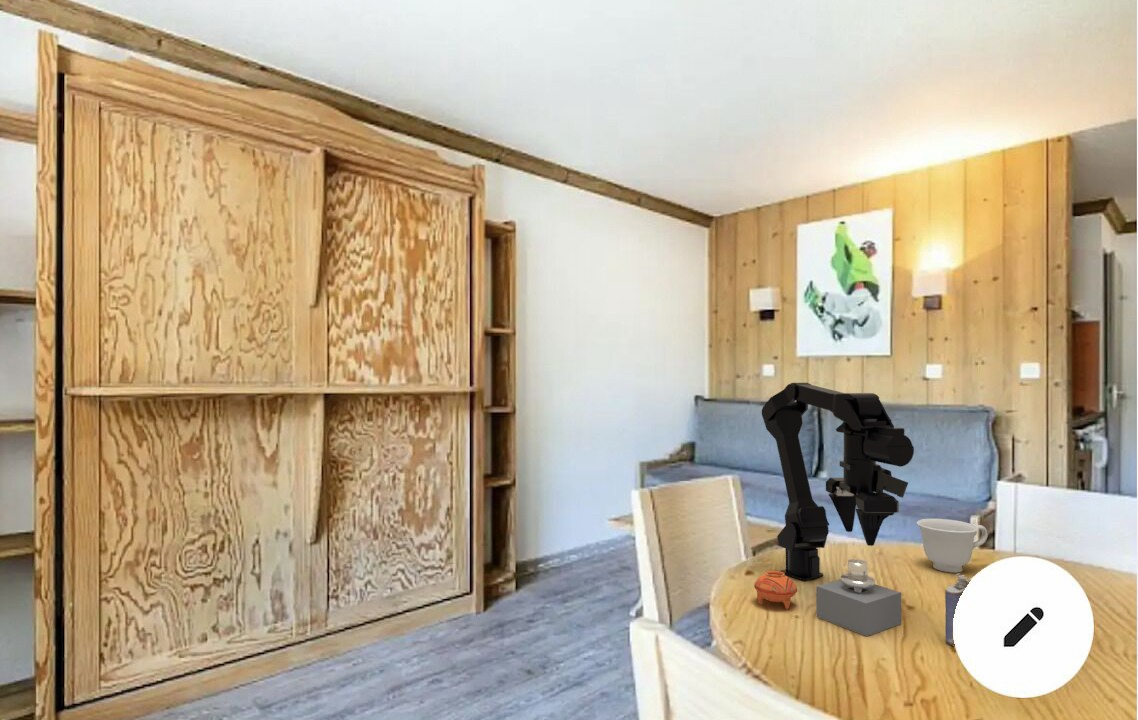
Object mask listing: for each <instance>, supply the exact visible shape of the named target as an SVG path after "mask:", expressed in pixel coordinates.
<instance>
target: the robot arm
mask: <svg viewBox="0 0 1138 720" xmlns="http://www.w3.org/2000/svg"><path fill="white" fill-rule="evenodd" d="M809 406H812V407H816V408H819V409H822V410H823V409H824V410H826V411H829V412H831V413H832V415H833V416H834V417H835V418H836V419H839V420H840V422H841V421H842V423H841V424H840V425H839V426H837V427H836V429H835V432H837V433H842V434H843V460H839V467H840V468H843V475H842V477H829V478H828V479H827V480H826V481H825V492H826V493H828V497H829V498H830V500H831V502H832V503H833V505H834V507H835V510H836V512H837V514H838V516H839V518H840V521H841V523H842V525H843V527H844V529H845V532H847V533H851V532H853V530H854V524H855V516H857V517H858V521H859V524H860V528H861V531H862V534H863V537H864V540H865V543H866V545H867V546H871V547H872V546H874V545H875V543H876V540H877V537H878V534H879V532H880V528H881V527H882V524H883V522H884V520H885V519H887V518H888V517H890V516H893V515H895V513H899V508H900V507H899V503H900V502H899V500H898V499H897V498H896V497H895V496H893V495H896V496H897V497H899V498H902V499H903V498H904V496H905V494H906V491H907V488H908V485H909V482H907V481H905V480H902V479H899V478H897V477H895V476H892V470H889V469H886V468H884V467H882V466H881V464H878V463H882V464H886V465H891V466H896V467H904V466H907V465H908V464H910V462H911V461H912V459H913V456H914V454H915V453H914V452H915V447H914V446H913V443H912V441H911V439H910V438H909V436H907V435H905V429H904V427H895V426H894V424H893V422H892V419H891V418H890V416H889V415H888V413H887V410H886V409H885V407H884V405H883V404H882V402H881V400H880V396H878V395H877V394H875V393H874V392H873V393H872V392H841V391H837V390H833V389H829V388H826V387H821V386H817V385H814V384H811V383H809V382H791V383H788V384H787V385H786V386H785V388H784V389H782V390H781V391H779V392H777V393H776V394H774V395H772V396H770V397H769V399H768V400H767V401H766V402H765V404H764V405H763V406H762V409H761V416H762V420H763V423H764V425H765V429H766V430H767V432H768V433H769V434H770V435H771V436H772V437H773V438H774V440H775V441H776V446H777V452H778V457H779V459H780V466H781V469H782V470H781V471H782V475H783V479H784V483H785V484H784V485H785V489H786V493H787V498H788V506H787V509H786V511H785V514H784V521H785V523H784V524H785V526H784V527H783V528H781V529H782V530H780V532H779V533H778V534H777V542H778V545H779V546H780V547H782V548H784V549H785V569H781V570H780V572H783V573H785V576H788V577H789V576H790V577H791V578H795V579H798V580H800V581H809V580H812V579H816V578H820V577H823V576H824V573H822V572H821V571H820V568H821V567H820V560H821V558H820V556H819V549H820V548H821V549H824V548H825V547H826V543H827V538H828V535H829V526H830V523H829V521H828V518H827V510H826V508H825V507H824V506H823V505H822V506H821V505H820V506H819V505H818V503H816V502H815V500H814V499H813V495H812V491H811V486H810V481H809V477H808V473H807V469H806V464H805V460H804V455H803V450H802V447H801V446H802V445H801V442H800V437H799V435H800V432H801V431H802V430H801V429H802V426H803V423H804V422H803V415H804V414H806V413H807V411H808V410H809ZM877 462H878V463H877ZM884 491H885V492H884ZM886 492H887V493H886ZM889 493H891V494H893V495H891V494H889ZM856 507H857V508H856ZM818 548H819V549H818Z"/></svg>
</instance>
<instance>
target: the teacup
mask: <svg viewBox="0 0 1138 720" xmlns="http://www.w3.org/2000/svg"><path fill="white" fill-rule="evenodd" d="M916 524H917V525H918V526H919V529H920V533H921V539H922V540H921V541H922V547H923V551H924V554H925V556H926V557H927V559H929V560H930V561H931V562H932V563H933V564H932V567H933V568H934V569H935V570H937V571H941V572H945V573H955V574H958V573H961V572H963V566H966V565H967V564H968V563H970V562H971V558H972V555H973V550H974V549H975V548H977V547H980V546H982V545H984V544H985V542H986V541H987V539H988V535H989V534H988V530H987V528H986V527H985V526H984V525H981V524H972V523H969V522H966V521H960V520H956V519H955V520H954V519H945V518H923V519H918V520H917V521H916ZM978 531H981V536H980V538H979V539H977V540H976V541H975V536H977V533H978Z"/></svg>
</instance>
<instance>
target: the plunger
mask: <svg viewBox="0 0 1138 720" xmlns="http://www.w3.org/2000/svg"><path fill="white" fill-rule="evenodd" d="M840 579H841V582H842V583H843V584H845V585H847V586H850V587H854V591H856V592H859V593H861V592H862V588H873V587H875V584H876V579H875V578H873V577H871V576H868V561H865V560H863V559H854V558H853V559H848V560H847V573H845V574H841V576H840Z"/></svg>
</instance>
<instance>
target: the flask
mask: <svg viewBox="0 0 1138 720" xmlns="http://www.w3.org/2000/svg"><path fill="white" fill-rule="evenodd" d="M956 577H957V580H956V583H954V584H952V585H949V586H948V587H946V589H945V591H944V595H945V596H944V598H945V613H944V614H945V626H944V627H945V644H946V645H947V646H953V647H954V648H956V647H955V644H954V640H953V618H954V614H955V609H956V606H957V603H958V601H959V598H960V596H961V595H962V593H963V591H964V590H965V588H966V587H967V585H968V584H969V582H970V581H971V579H969V577H967V576H966V575H964V574H961V573H955V575H954V578H956Z"/></svg>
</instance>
